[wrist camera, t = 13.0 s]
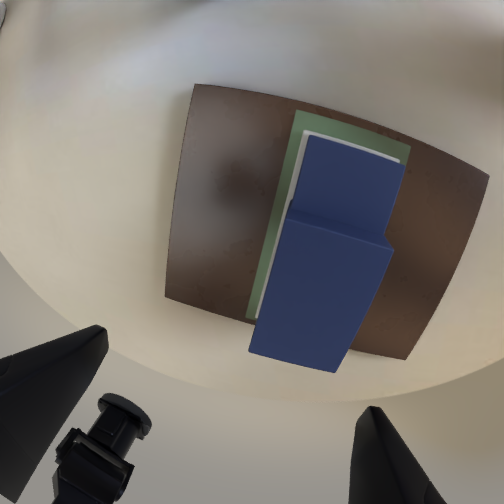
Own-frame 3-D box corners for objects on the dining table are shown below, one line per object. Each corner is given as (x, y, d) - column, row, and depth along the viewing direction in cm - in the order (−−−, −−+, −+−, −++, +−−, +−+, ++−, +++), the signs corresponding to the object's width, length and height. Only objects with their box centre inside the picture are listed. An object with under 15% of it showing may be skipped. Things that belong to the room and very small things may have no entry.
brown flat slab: (402, 350, 19) (405, 361, 18) (171, 288, 21) (163, 297, 20) (480, 172, 14) (490, 175, 12) (201, 86, 15) (193, 83, 14)
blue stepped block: (332, 327, 18) (335, 380, 14) (257, 307, 19) (241, 357, 14) (394, 158, 14) (427, 168, 9) (304, 129, 14) (302, 126, 10)
